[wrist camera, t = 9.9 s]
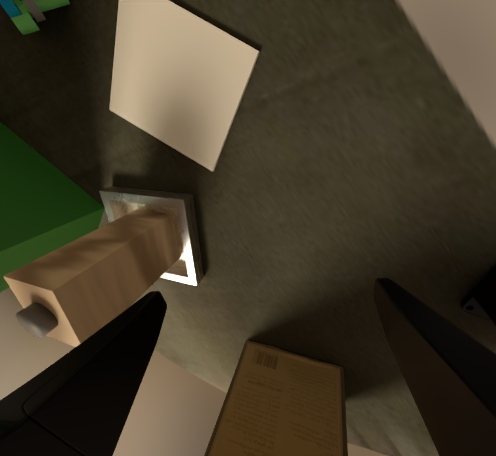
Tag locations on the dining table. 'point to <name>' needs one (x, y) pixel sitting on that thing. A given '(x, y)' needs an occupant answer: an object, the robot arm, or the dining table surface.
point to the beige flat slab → (178, 77)
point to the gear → (29, 12)
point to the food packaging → (281, 407)
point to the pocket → (184, 220)
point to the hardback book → (37, 206)
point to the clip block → (94, 276)
